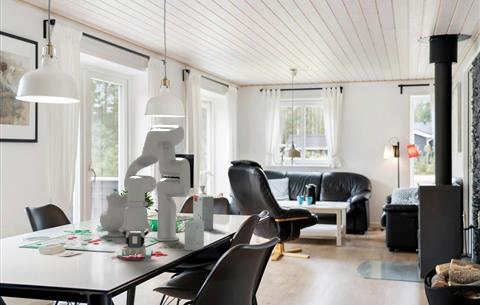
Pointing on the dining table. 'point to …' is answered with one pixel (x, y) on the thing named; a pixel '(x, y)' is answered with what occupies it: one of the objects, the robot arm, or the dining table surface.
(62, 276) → the dining table surface
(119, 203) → the ceramic pitcher
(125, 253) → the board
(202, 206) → the hard drive box
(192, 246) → the small box
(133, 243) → the plug
